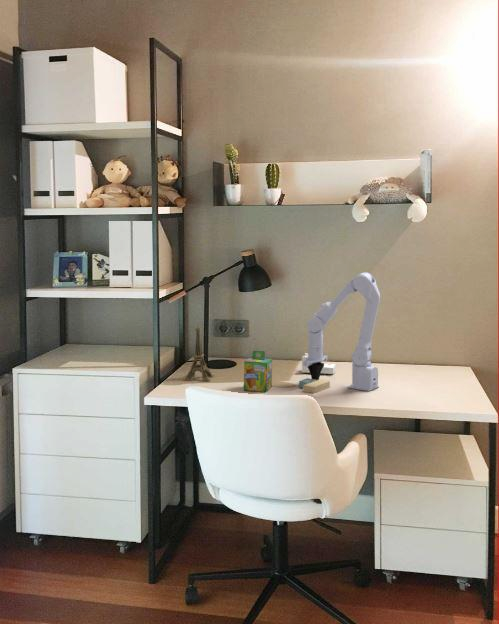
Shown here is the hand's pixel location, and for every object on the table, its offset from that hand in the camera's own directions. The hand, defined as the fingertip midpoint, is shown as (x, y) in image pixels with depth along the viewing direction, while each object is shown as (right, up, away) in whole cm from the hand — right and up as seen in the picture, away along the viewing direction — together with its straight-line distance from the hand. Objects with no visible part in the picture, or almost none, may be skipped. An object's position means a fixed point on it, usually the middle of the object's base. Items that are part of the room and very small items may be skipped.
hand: (315, 381), depth 303 cm
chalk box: (-23, -3, -7) cm, 24 cm away
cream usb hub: (0, -2, -8) cm, 9 cm away
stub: (-3, -2, -4) cm, 6 cm away
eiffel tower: (-46, 0, +11) cm, 48 cm away
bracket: (+3, +1, +19) cm, 20 cm away
